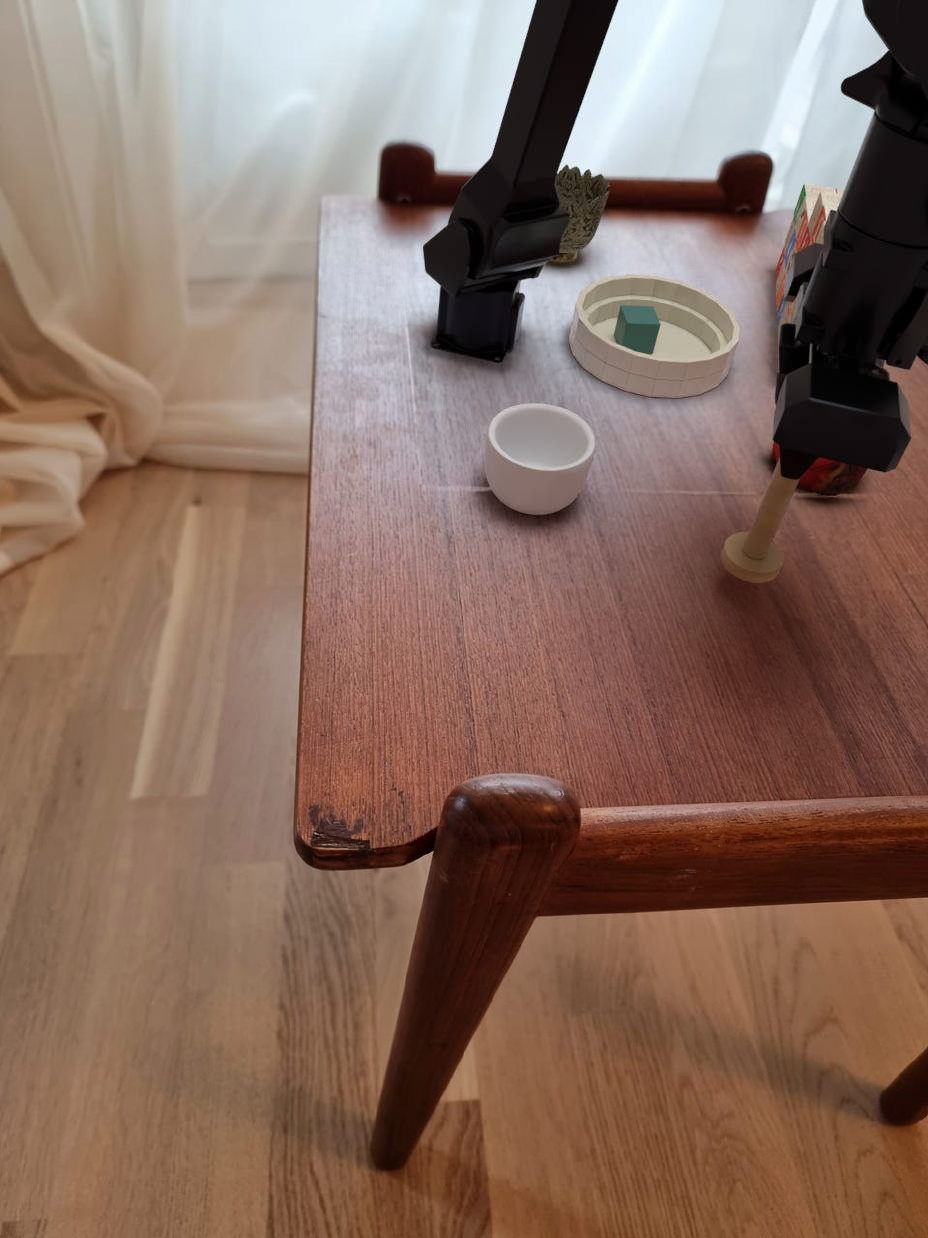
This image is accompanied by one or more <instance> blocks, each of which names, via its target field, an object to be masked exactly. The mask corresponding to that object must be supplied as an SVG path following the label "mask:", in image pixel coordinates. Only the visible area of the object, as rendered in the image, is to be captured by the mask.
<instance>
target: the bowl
mask: <svg viewBox="0 0 928 1238" xmlns="http://www.w3.org/2000/svg"><path fill="white" fill-rule="evenodd" d="M574 304H575V305H574V309H573V315H572V320H571V326H570V330H569V335H568V342H569V347H570V351H571V354H572V356H573V357H574V358H575V359H576V361H577V362H578V363H579V365H580V366H581V367H582V368H583V369H584V370H585V371H587V372H588V373H590V374H591V375H593V377H595V378H597V379H598V380H600V381H601V382H603V383H606V384H608V385H610V386H613V387H615V388H617V389H619V390H622V391H625V392H628V393H633V394H637V395H641V396H645V397H652V398H666V399H669V398H670V399H681V398H687V397H688V398H689V397H694V396H700V395H702V394H704V393H707V392H709V391H712V390H713V389H716V388H717V387H718V386H719V385H720V384H721V383H722V382H723V381H724V380H725V378H727V376H728V374H729V371H730V368H731V365H732V362H733V360H734V357H735V354H736V351H737V348H738V345H739V342H740V335H741V326H740V323H739V321H738V319H737V317H736V315H735V313H734V312H733V311H732V310H731V309H730V308H729V306H728V305H726V304H725V303H724V302H723V301H721V300H720V299H718V298H717V297H716V296H713V295H712V294H710V293H708V292H707V291H705V290H704V289H702V288H700V287H696V286H694V285H691V284H688V283H686V282H683V281H680V280H677V279H671V278H667V277H662V276H658V275H650V274H649V275H648V274H647V275H646V274H634V273H633V274H622V275H612V276H608V277H605V278H602V279H598V280H596V281H593V282H591V283H589V284H588V285H587V286H586V287H585V288H583V289H582V290H581V291H580V292H579V293H578V297H577V299H576V302H575V303H574ZM621 305H629V306H652V307H654V310H655V312H656V314H657V317H658V319H659V322H660V324H661V325H660V329H659V332H658V336H657V340H656V343H655V347H654V351H653V354H645V353H640V352H636V351H633V350H631V349H629V348H626V347H624V346H621V345H619V344H617V343H616V340H615V337H614V332H615V327H616V323H617V319H618V314H619V310H620V306H621Z"/></svg>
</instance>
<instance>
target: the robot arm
mask: <svg viewBox="0 0 928 1238" xmlns="http://www.w3.org/2000/svg"><path fill="white" fill-rule="evenodd" d="M534 3H535V4H534V7H533V11H532V14H531V17H530V21H529V24H528V28H527V32H526V35H525V38H524V42H523V46H522V49H521V52H520V56H519V60H518V63H517V67H516V71H515V73H514V77H513V81H512V84H511V88H510V91H509V94H508V98H507V102H506V105H505V109H504V111H503V115H502V119H501V122H500V126H499V129H498V133H497V135H496V139H495V143H494V146H493V150H492V154H491V156H490V157H489V159H487V161H486V162H485V163H484V164H483V165H482V166H481V167H480V168H479V169H478V170H477V171H476V172H475V173H474V174H473V175H472V176H471V177H470V178H469V180H467V182H465V183H464V185H463V186H462V187H461V189H460V192H459V194H458V196H457V199H456V201H455V203H454V206H453V208H452V210H451V213H450V215H449V218H448V221H447V225H446V226H445V227H443V228H442V229H441V230H440V231H438V232H437V233H436V234H435V235H434V236H432V237H431V238H430V239H429V240H428V241H426V242H425V243H424V244H423V245H422V253H423V264H424V270H425V273H426V274H427V275H428V276H429V277H430V278H432V280H434V281H435V282H436V283H437V284H438V285H439V296H438V310H437V320H436V332H435V334H434V336H433V337H432V339H431V341H430V343H429V347H430V348H432V349H434V350H435V349H436V350H439V351H443V352H447V353H452V354H456V355H461V356H465V357H468V358H473V359H478V360H483V361H486V362H491V363H495V364H501V363H503V362H504V360H505V358H506V356H507V354H508V352H511V351H513V350H514V348H515V346H516V345H517V342H518V340H519V337H520V332H521V327H522V321H523V320H522V319H523V313H524V308H525V301H526V296H525V294H524V292H520V289H521V283H522V281H525V280H530V279H532V280H535V279H538V278H539V276H540V274H541V272H542V270H543V268H544V266H545V265H546V264H547V263H549V262H548V261H549V260H550V258H551V257H554V256H558V255H559V250H560V243H561V239H562V236H563V234H564V231H565V230H566V228H567V226H568V225H569V223H570V214H569V213H568V212H567V211H566V210H565V209H564V208H563V207H562V205H561V201H560V197H559V194H558V190H557V186H556V183H555V179H556V175H557V173H559V169H560V166H561V163H562V160H563V158H564V155H565V152H566V149H567V147H568V143H569V140H570V138H571V135H572V132H573V129H574V127H575V124H576V121H577V118H578V116H579V113H580V110H581V107H582V104H583V101H584V99H585V96H586V93H587V91H588V88H589V85H590V82H591V80H592V76H593V74H594V71H595V67H596V65H597V63H598V60H599V57H600V53H601V51H602V48H603V45H604V42H605V39H606V36H607V35H608V32H609V28H610V25H611V23H612V20H613V18H614V15H615V12H616V8H617V7H618V3H619V0H536V1H535V2H534ZM861 3H862V9H863V13H864V16H865V18H866V19H867V21H868V22H869V24H870V25H871V27H872V29H873V30H874V31H875V33H876V34H877V36H878V37H879V38H880V40H881V41H882V43H883V44H884V47H886V49H887V51H886V52H885V53H884V54H883V55H882V56H881V57H880V58H879V59H877V60H876V61H875V62H874V63H872V64H871V65H869V66H867V67H865V68H863V69H862V70H860V71H858V72H856V73H854V74H852V75H850V76H847V77H845V78H844V79H843V80H842V81H841V84H840V92H841V94H843V95H844V96H845V97H847V98H849V99H851V100H854V101H856V102H858V103H859V104H862V105H864V106H866V107H868V108H869V109H871V110H873V113H872V116H871V119H870V121H869V124H868V127H867V129H866V132H865V135H864V137H863V140H862V143H861V145H860V148H859V150H858V153H857V156H856V158H855V161H854V163H853V166H852V169H851V172H850V174H849V177H848V179H847V181H846V185H845V187H844V193H843V195H842V198H841V200H840V203H839V206H838V209H837V211H835V210H830V213H829V215H828V218H827V221H826V223H825V226H824V242H825V243H824V242H823V244H819V243H813V244H811V245H810V246H808V247H806V248H804V249H802V250H801V251H799V252H797V253H795V255H794V257H793V260H792V263H791V266H790V268H789V271H788V274H787V277H786V280H785V286H784V299H783V301H788V302H792V303H793V302H794V300H795V299H796V297H797V295H798V293H799V290H800V287H801V285H802V288H801V290H800V293H799V296H798V299H797V316H796V324H791V323H785V324H783V325H781V328H780V338H779V373H778V372H777V373H776V377H775V389H774V404H775V409H774V413H773V414H774V415H773V427H772V439H771V441H773V442H775V443H777V444H778V445H779V457H780V473H781V476H782V477H784V478H788V479H793V480H798V479H800V478H801V477H802V476H803V474H804V473H805V472H806V471H807V470H808V469H809V468H810V467H811V466H812V465H813V464H814V463H815V461H816V460H817V459H818V458H819V457H820V458H824V459H829V460H833V461H837V462H842V463H846V464H850V465H854V466H859V467H863V468H867V470H871V471H876V472H880V473H887V472H890V471H893V470H896V469H897V467H898V465H899V463H900V461H901V459H902V458H903V456H904V454H905V452H906V450H907V449H908V447H909V444H910V442H911V441H912V431H911V430H912V429H911V419H910V407H909V400H908V399H907V397H906V395H905V394H904V392H903V390H902V388H901V386H900V385H899V383H898V382H897V381H892V380H891V374H890V371H889V370H888V369H886V368H885V367H884V366H885V364H886V366H887V367H893V368H897V369H902V370H907V371H911V368H912V366H913V364H914V362H915V360H916V359H917V358H918V359H919V360H920V361H922V362H923V363H924V364H926V365H927V366H928V0H861ZM883 360H885V363H884V364H883Z"/></svg>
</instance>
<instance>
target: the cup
mask: <svg viewBox="0 0 928 1238" xmlns="http://www.w3.org/2000/svg"><path fill="white" fill-rule="evenodd" d="M592 175H593V174H592V172H591V169H590V168H588V169H585V171H584V172H583V174H582V173H581V169H580V168H579V167H578V166H574V167H573V166H572V167H571V168H570V167H569V165H568V164H565V165H564V166H563V167H562V168H561V169H560V170H558V172H557V175H556V179H555V183H556V186H557V190H558V194H559V197H560V201H561V205H562V207H563V208H564V209H565V210H566V211H567V212H568V213H569V214H570V223H569V225H568V226H567V228H566V230H565V231H564V234H563V236H562V239H561V243H560V250H559V255H558V256H554V257H551V258H550V260H549V261H548V262H547V263H550V264H554V265H559V266H566V265H570V264H573V263H574V262H575V261H576V260H577V258H578V252H579V251H582V250H583V249H585V248H587V246H588V245H589V244H590V243H592V241H593V239H594V237H595V236H596V233H597V231H598V228H599V225H600V222H601V219H602V216H603V213H604V210H605V207H606V204H607V200H608V198H609V194H610V190H609V189H610V187H611V185H610V181H607V182H606V179H605V177H604V175H603V174H602V173H600V174H597V175H596V176H592Z"/></svg>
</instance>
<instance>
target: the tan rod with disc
mask: <svg viewBox="0 0 928 1238" xmlns="http://www.w3.org/2000/svg"><path fill="white" fill-rule="evenodd" d="M799 480H800V479H798V480H793V479H788V478H784V477H782V476H781V473H780V458H779V461H778V463H777V465H775V468H774V471H773V473H772V475H771V477H770V481H769V483H768V485H767V488H766V490H765V492H764V495H763V498H762V499H761V503H760V505H759V507H758V510H757V513H756V514H755V517H754V520H753V521H752V524H751V527H750V529H749V531H739V532H735V533H733V534H731V535H730V536H728V537H727V538H726V540H725V542H724V544H723V547H722V550H721V552H720V561H721V564H722V565H723V567H724V568H725V570H727V572H729V573H730V574H731V575H732V576H734V577H735V578H737V579H739V580H742V581H745V582H748V583H753V584H765V583H769V582H770V581H773V580H774V579H775V578H777V577H778V575H779V573H780V571H781V569H782V567H783V565H784V562H785V555H784V552H783V550H782V548H781V547H780V546H779V544H777V543H776V542H775V541H774V538H775V536H776V534H777V532H778V529H779V527H780V525H781V523H782V520H783V518H784V516H785V514H786V511H787V509H788V507H789V504H790V502H791V500H792V498H793V496H794V493H795V491H796V488H797V486H798V485H797V484H798V482H799Z"/></svg>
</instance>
